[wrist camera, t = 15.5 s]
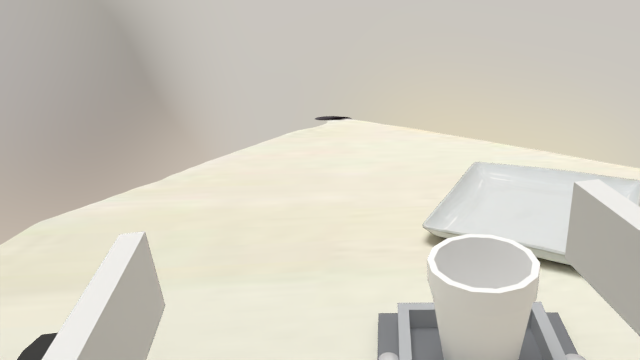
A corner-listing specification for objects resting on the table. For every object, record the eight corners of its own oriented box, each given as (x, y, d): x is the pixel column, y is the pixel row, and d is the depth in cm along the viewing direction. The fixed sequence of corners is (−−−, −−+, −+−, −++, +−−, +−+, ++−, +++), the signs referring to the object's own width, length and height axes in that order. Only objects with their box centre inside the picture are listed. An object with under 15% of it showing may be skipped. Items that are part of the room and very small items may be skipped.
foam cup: (443, 331, 54) (442, 228, 49) (534, 351, 50) (543, 241, 45) (419, 395, 47) (415, 281, 42) (524, 425, 43) (534, 303, 37)
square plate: (420, 246, 74) (419, 224, 72) (474, 177, 94) (474, 158, 93) (631, 292, 59) (636, 264, 58) (641, 198, 80) (645, 177, 78)
